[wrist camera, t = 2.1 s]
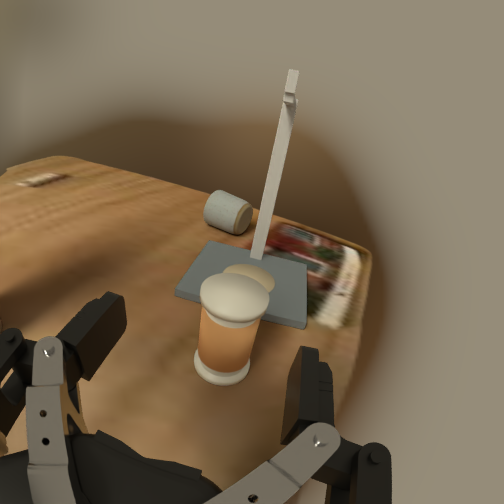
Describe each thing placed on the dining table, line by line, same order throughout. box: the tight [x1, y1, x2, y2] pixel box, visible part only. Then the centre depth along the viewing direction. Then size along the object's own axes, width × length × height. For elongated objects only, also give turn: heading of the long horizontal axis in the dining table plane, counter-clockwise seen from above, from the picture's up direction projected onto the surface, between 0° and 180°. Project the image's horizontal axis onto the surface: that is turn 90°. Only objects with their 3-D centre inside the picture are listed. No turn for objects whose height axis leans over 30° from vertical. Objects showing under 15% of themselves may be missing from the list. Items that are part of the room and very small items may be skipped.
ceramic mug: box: [203, 190, 253, 235], centre depth 59 cm, size 11×8×8 cm
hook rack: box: [175, 69, 307, 329], centre depth 37 cm, size 18×16×31 cm
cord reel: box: [194, 273, 269, 386], centre depth 26 cm, size 6×6×10 cm
